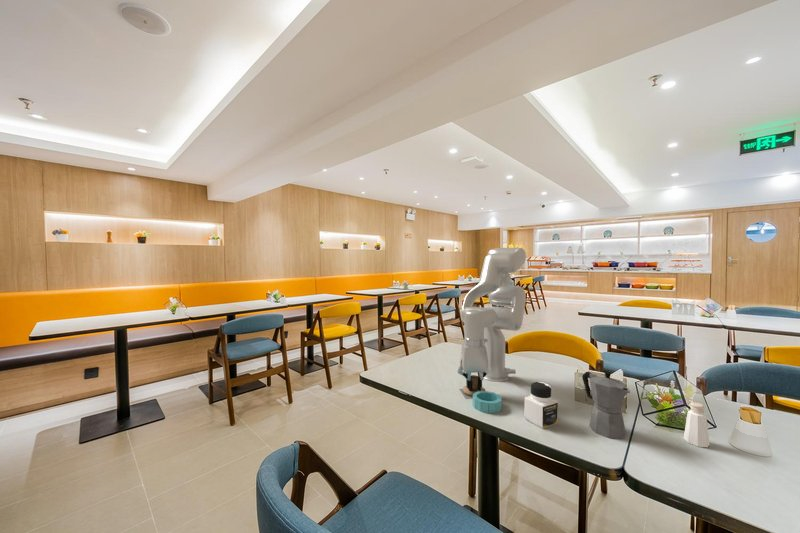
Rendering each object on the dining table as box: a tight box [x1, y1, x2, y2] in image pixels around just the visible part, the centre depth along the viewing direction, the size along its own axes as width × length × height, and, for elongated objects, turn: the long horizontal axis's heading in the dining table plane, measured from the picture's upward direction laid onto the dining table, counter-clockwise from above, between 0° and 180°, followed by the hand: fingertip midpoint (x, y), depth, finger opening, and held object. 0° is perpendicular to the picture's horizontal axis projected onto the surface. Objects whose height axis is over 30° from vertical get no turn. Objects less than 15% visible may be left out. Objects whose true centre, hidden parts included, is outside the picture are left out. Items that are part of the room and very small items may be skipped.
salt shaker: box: [683, 401, 711, 448], centre depth 87 cm, size 5×5×11 cm
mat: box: [459, 388, 473, 400], centre depth 118 cm, size 9×9×1 cm
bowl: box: [472, 391, 503, 414], centre depth 107 cm, size 10×10×4 cm
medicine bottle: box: [523, 381, 559, 429], centre depth 98 cm, size 7×7×12 cm
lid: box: [462, 374, 486, 397], centre depth 118 cm, size 8×8×6 cm
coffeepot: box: [581, 371, 631, 440], centre depth 94 cm, size 15×9×18 cm, turn 16°
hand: (474, 388), depth 118 cm, fingers closed on lid, 3 cm apart
